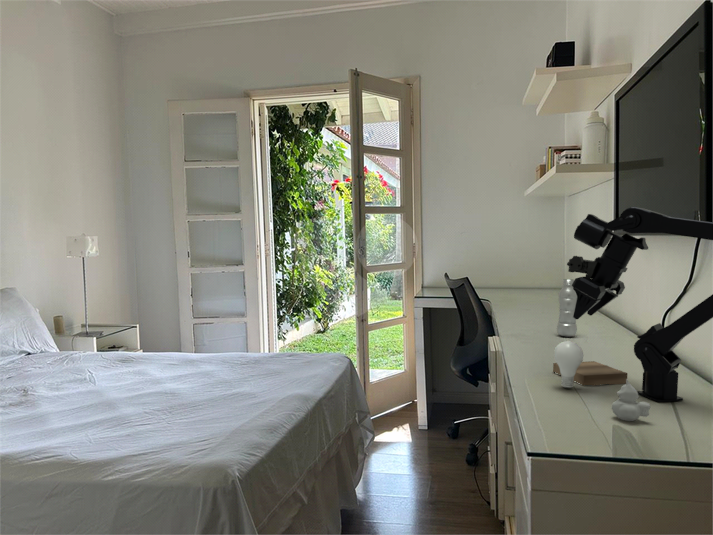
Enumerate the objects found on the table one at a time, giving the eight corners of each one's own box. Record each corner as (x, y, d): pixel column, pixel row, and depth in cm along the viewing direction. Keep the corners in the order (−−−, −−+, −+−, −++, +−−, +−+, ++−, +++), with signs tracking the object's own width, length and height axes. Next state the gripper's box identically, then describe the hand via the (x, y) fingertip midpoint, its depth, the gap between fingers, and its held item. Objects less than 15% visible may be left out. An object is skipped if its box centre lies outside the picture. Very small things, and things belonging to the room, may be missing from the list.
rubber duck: (611, 413, 106) (613, 373, 105) (648, 418, 103) (651, 378, 102) (610, 421, 101) (612, 380, 100) (650, 427, 98) (652, 385, 98)
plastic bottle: (552, 335, 187) (554, 279, 186) (566, 334, 190) (568, 278, 189) (566, 338, 182) (568, 280, 180) (581, 337, 184) (583, 280, 183)
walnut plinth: (626, 383, 127) (627, 373, 127) (583, 386, 125) (583, 375, 125) (593, 370, 139) (594, 361, 139) (553, 372, 136) (553, 363, 136)
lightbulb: (564, 393, 119) (566, 344, 118) (546, 385, 125) (548, 339, 124) (588, 391, 120) (590, 343, 120) (569, 383, 126) (571, 338, 126)
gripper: (596, 243, 133) (567, 296, 139) (568, 242, 120) (536, 302, 125) (639, 264, 127) (607, 319, 132) (614, 266, 113) (579, 328, 118)
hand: (582, 316), depth 127 cm, fingers open, 9 cm apart
